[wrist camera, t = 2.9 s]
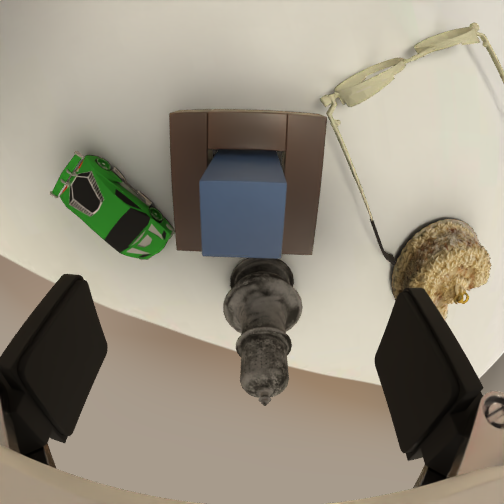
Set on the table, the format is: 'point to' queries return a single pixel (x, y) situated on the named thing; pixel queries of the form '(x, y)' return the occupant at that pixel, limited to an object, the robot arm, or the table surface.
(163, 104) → the table surface
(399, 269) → the cake
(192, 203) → the brown square frame
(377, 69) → the gold eyeglasses
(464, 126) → the table surface
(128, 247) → the toy car
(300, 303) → the grey chess piece
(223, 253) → the peg
